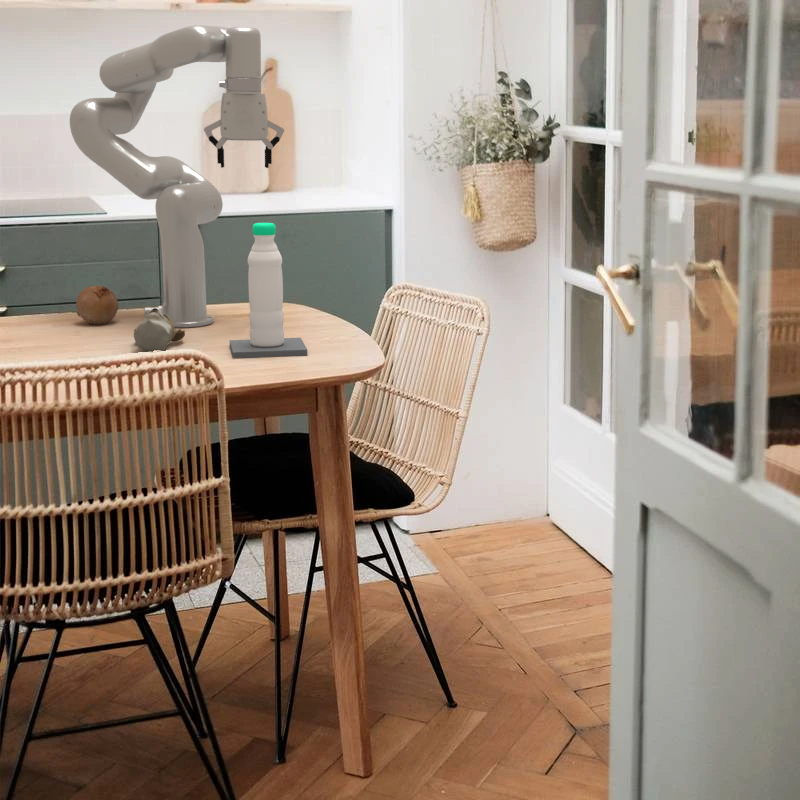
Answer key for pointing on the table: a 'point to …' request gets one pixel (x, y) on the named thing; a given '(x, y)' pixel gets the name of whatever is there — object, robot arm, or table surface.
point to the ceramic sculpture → (156, 331)
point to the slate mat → (268, 349)
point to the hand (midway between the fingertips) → (244, 167)
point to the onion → (97, 305)
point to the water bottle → (265, 288)
